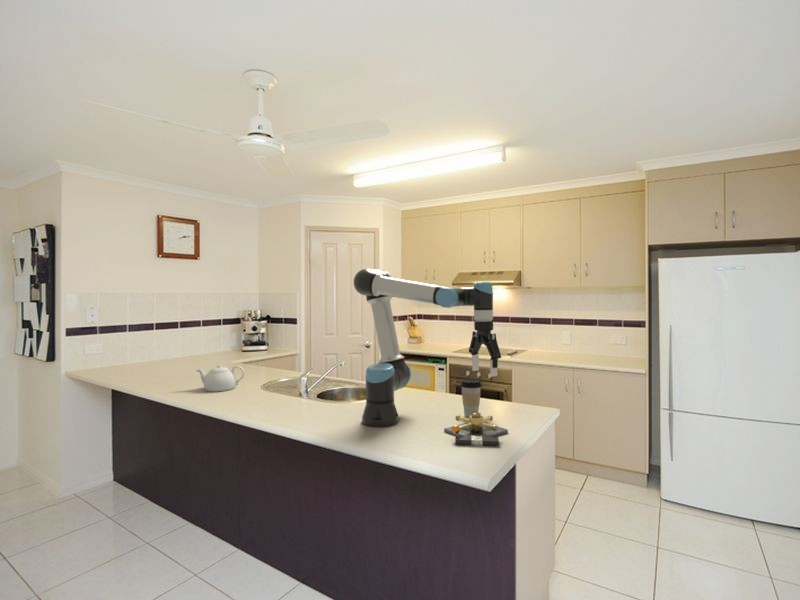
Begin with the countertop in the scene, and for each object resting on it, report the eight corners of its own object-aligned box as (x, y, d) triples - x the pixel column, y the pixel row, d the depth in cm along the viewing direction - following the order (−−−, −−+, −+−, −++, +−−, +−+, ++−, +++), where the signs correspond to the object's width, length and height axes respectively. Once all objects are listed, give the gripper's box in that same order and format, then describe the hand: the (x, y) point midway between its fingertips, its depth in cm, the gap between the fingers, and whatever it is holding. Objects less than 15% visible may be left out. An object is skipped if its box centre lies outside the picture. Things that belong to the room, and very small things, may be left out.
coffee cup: (467, 419, 187) (467, 384, 186) (456, 414, 195) (455, 380, 195) (486, 417, 190) (486, 382, 190) (474, 411, 199) (474, 378, 199)
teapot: (216, 394, 237) (215, 368, 236) (196, 390, 247) (195, 365, 246) (245, 387, 252) (245, 363, 252) (225, 384, 262) (225, 361, 262)
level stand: (477, 453, 148) (477, 447, 148) (430, 435, 167) (430, 429, 167) (524, 438, 163) (524, 432, 163) (476, 422, 182) (476, 418, 182)
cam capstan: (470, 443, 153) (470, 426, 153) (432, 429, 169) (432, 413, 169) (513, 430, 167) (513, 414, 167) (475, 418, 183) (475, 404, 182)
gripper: (509, 321, 169) (510, 377, 169) (475, 318, 192) (476, 367, 192) (493, 322, 166) (493, 379, 166) (460, 319, 189) (461, 369, 189)
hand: (484, 373), depth 179 cm, fingers open, 13 cm apart
